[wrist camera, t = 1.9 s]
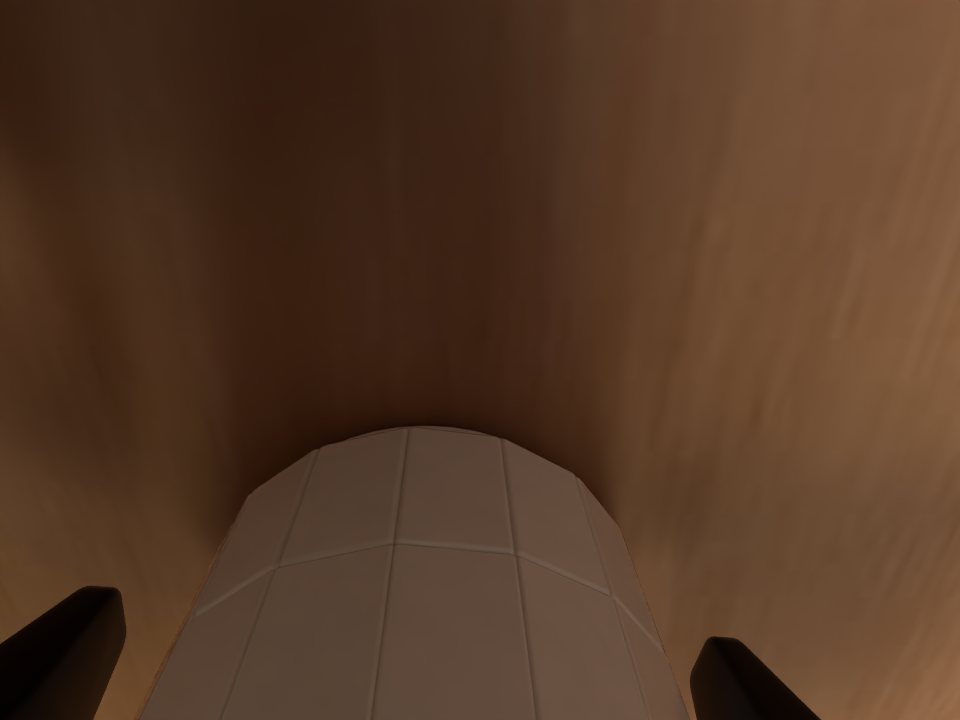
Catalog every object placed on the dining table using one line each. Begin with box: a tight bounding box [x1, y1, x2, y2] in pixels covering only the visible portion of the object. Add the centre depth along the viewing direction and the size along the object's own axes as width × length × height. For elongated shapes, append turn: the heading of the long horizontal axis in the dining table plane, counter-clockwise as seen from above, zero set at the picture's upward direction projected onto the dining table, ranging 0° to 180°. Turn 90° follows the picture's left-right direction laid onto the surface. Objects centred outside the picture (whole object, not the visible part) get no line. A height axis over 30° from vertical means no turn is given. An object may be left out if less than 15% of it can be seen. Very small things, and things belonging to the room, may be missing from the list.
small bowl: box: [134, 425, 690, 720], centre depth 7 cm, size 6×6×5 cm
